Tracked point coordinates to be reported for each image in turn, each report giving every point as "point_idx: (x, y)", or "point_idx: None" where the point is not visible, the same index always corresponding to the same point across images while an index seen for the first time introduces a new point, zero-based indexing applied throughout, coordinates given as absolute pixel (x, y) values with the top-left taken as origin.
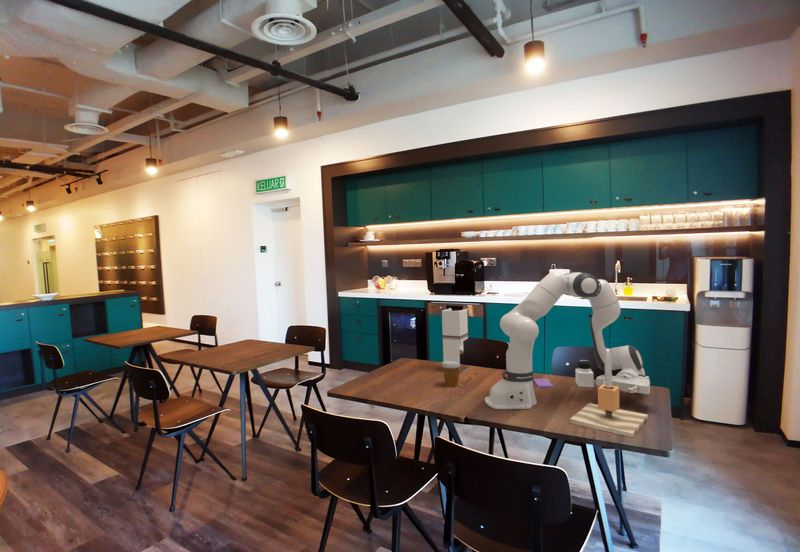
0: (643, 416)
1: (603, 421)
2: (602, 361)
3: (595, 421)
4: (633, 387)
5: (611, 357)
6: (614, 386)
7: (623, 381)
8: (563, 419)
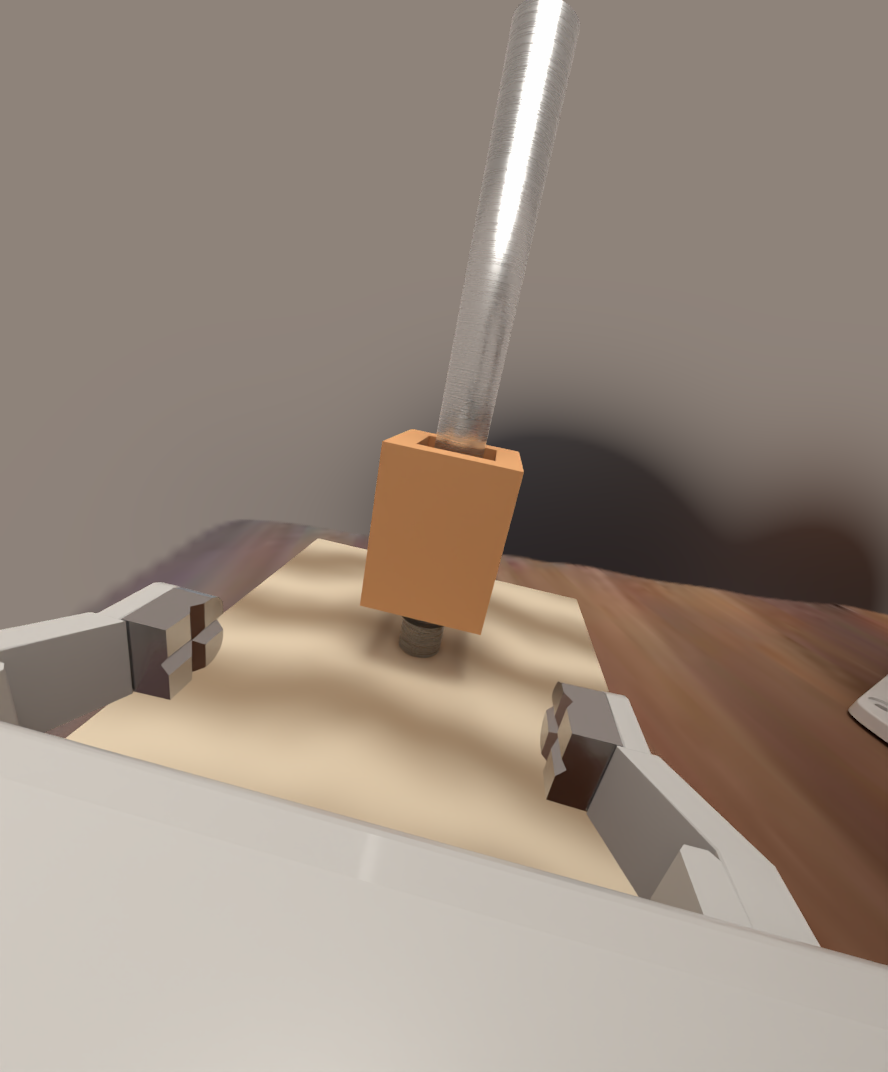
0: (142, 697)
1: None
2: None
3: None
4: (78, 624)
5: (492, 129)
6: (420, 448)
7: (176, 821)
8: (615, 639)
